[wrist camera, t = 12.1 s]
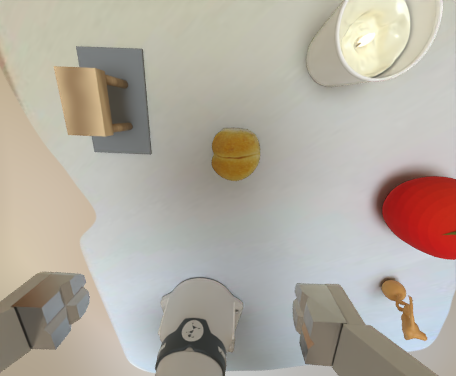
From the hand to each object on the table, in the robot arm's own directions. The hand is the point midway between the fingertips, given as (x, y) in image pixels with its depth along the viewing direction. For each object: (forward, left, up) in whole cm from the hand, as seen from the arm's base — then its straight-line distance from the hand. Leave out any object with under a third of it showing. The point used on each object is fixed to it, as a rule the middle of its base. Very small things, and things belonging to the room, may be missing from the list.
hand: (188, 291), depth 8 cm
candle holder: (+15, -16, -31) cm, 38 cm away
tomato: (-8, -34, -31) cm, 47 cm away
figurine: (-27, -35, -31) cm, 54 cm away
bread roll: (0, -2, -31) cm, 31 cm away
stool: (+7, +18, -30) cm, 36 cm away
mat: (+7, +18, -31) cm, 36 cm away
